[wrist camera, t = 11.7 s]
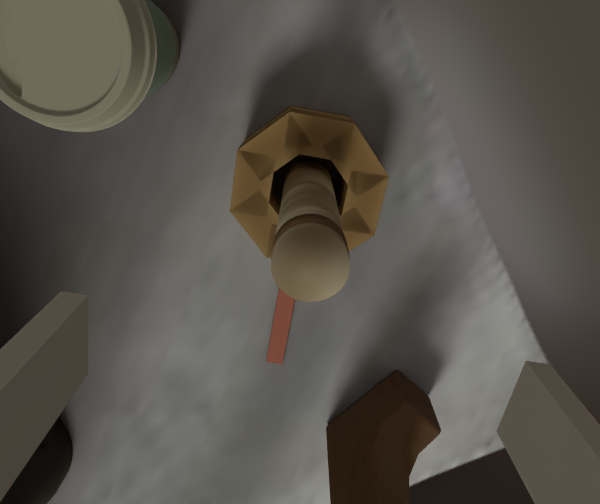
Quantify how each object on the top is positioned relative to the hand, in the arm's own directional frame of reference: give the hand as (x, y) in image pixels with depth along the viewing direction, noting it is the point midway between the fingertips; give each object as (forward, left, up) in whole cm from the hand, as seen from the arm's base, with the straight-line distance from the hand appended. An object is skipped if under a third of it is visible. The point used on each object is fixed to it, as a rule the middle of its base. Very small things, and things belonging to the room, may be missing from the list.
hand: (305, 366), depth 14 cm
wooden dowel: (0, 0, -23) cm, 23 cm away
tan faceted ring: (0, 0, -23) cm, 23 cm away
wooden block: (+10, -20, -23) cm, 32 cm away
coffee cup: (-13, +7, -23) cm, 27 cm away
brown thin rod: (0, -10, -23) cm, 25 cm away
